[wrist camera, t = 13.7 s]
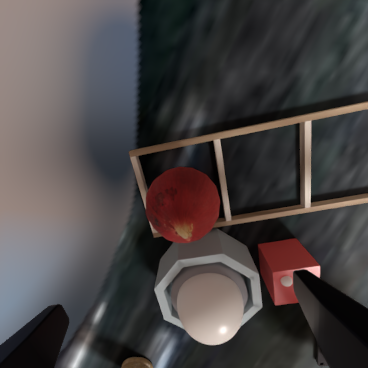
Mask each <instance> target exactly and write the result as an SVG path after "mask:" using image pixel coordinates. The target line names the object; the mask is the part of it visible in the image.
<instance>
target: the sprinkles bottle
mask: <svg viewBox="0 0 368 368" xmlns="http://www.w3.org/2000/svg"><path fill="white" fill-rule="evenodd" d="M122 368H153V366H152V364H151V363H150V361H149V360H147V359H145V358H142V357H130V358H128V359H126V360H125V361H124V362H123V364H122Z"/></svg>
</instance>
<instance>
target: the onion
mask: <svg viewBox="0 0 368 368" xmlns="http://www.w3.org/2000/svg"><path fill="white" fill-rule="evenodd" d="M219 207H220V198H219V194H218V191H217V188H216V185H215V184H214V183H213V182H212V181H211V180H210V178H209V177H208V176H207V175H206V174H204V173H202V172H200V171H198V170H196V169H194V168H190V167H176V168H173V169H169V170H166V171H165V172H164V173H162V174H161V175H160V176H159V177H157V178H156V179H155V180H154V181H153V182H152V184H151V186H150V188H149V190H148V192H147V194H146V216H147V218H148V220H149V221H150V223H151V225H152V226H153V228H154V229H155V230H156V231H157V232H159V233H160V234H161V235H162V236H163V237H164V238H165V239H167V240H169V241H173V242H176V243H190V242H193V241H197V240H200V239H201V238H202V237H204V236H205V235H206V234H207V233H208V232H210V231H211V229H212V228H213V226H214V224H215V222H216V220H217V219H218V217H219Z"/></svg>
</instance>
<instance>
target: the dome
mask: <svg viewBox="0 0 368 368" xmlns="http://www.w3.org/2000/svg"><path fill="white" fill-rule="evenodd" d="M247 298H248V293H247V288H246V285H245V282H244V279H243V276H242V274H241V273H240V272H238V271H236V270H234V269H233V268H231V267H229V266H227V265H226V264H224V263H222V262H215V263H208V264H201V265H195V266H188V267H183V268H182V269H181V270H180V272H179V273H178V274H177V275H176V276H175V278H174V279H173V280H172V289H171V301H172V305H173V307H174V309H175V310H176V311H177V313H178V315H179V319H180V321H181V323H182V325H183V327H184V329H185V330H186V331H187V333H188V334H189V335H190V336H191V337H192V338H194V339H195V340H197V341H199V342H201V343H203V344H207V345H218V344H222V343H224V342H226V341H228V340H229V339H231V338H232V337H233V336H234V335H235V334H236V332H237V331H238V329H239V327H240V325H241V322H242V319H243V313H244V307H245V305H246V302H247Z"/></svg>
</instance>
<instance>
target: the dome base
mask: <svg viewBox="0 0 368 368" xmlns="http://www.w3.org/2000/svg"><path fill="white" fill-rule="evenodd" d="M258 253H259V263H260V273H261V275H262V278H263V280H264V282H265V284H266V286H267V289H268V291H269V293H270V295H271V297H272V299H273V302H274V304H275V305H283V304H291V303H299V302H298V300H297V297H296V295H295V293H294V289H293V272H294V271H295V270H302V269H305V270H308V271H309V272H311V273H313V274H314V275H316V276H317V277H319V278H320V265H319V264H318V263H317V262H316V260H315V259H314V258H313V257H312V256H311V255H310V254H309V253H308V251H307V250H306V249H305V248H304V247H303V246H302V245H301V243H300V242H299V241H298V240H297V239H296V238H295V239H288V240H282V241H275V242H269V243H262V244H258ZM215 262H222V263H224V264H226V265H227V266H229V267H231V268H233V269H234V270H236V271H238V272H240V273H241V274H242V276H243V279H244V282H245V285H246V288H247V293H248V298H247V302H246V305H245V307H244V313H243V319H242V322H241V325H240V327H241V326H242V325H243V324H244V323H245V322H246V321H248V320H249V319H250V318H251V317H252V316H253V315H254V314H255V313H256V312H257V311H259V310H260V309H261V308H262V298H261V288H260V278H259V273H258V271H257V268H256V266H255V264H254V262H253V259H252V257H251V255H250V253H249V251H248V248H247V246H246V245H244V244H242V243H241V242H239V241H237V240H236V239H234V238H232V237H231V236H229V235H227V234H226V233H224V232H222V231H221V230H219V229H217V228H214V229H211V231H210V232H208V233H207V234H206V235H205V236H204V237H202V238H201V239H200V240H197V241H193V242H190V243H176V242H173V243H172V245H171V246H170V247H169V249H168V250H167V251H166V253H165V254H164V255H163V256H162V258H161V259H160V263H159V268H158V273H157V278H156V284H155V289H154V290H155V293H156V296H157V299H158V302H159V305H160V308H161V311H162V314H163V317H164V319H165V320H167V321H169V322H171V323H173V324H175V325H177V326H179V327H181V328H183V329H184V327H183V325H182V323H181V321H180V319H179V315H178V313H177V311H176V310H175V309H174V307H173V305H172V301H171V289H172V280H173V279H174V278H175V276H176V275H177V274H178V273H179V272H180V270H181V269H182V268H183V267H188V266H195V265H201V264H208V263H215ZM240 327H239V328H240Z"/></svg>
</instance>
